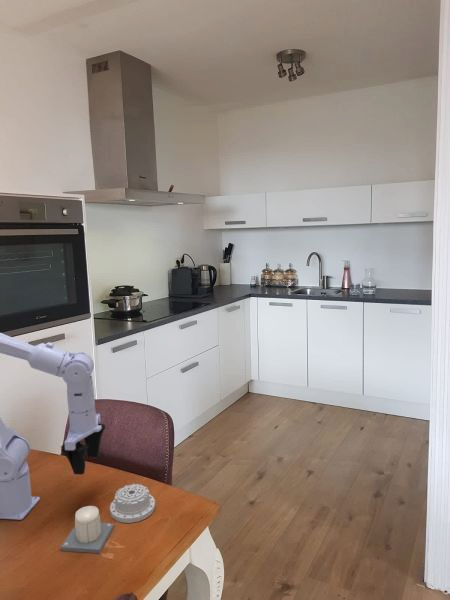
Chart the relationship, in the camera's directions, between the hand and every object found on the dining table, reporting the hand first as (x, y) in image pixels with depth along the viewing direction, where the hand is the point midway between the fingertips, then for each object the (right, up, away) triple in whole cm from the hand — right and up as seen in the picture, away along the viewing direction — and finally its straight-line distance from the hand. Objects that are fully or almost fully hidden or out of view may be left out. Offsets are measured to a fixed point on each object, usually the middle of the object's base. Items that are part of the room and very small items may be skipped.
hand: (86, 464), depth 106 cm
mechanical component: (+11, -10, -1) cm, 15 cm away
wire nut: (+4, -11, -11) cm, 16 cm away
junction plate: (+4, -11, -11) cm, 16 cm away
